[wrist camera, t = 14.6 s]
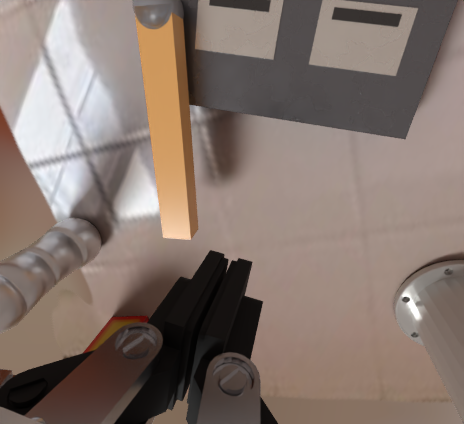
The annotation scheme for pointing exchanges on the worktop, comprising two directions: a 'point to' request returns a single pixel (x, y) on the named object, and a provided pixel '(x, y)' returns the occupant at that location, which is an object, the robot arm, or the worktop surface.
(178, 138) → the light orange bar
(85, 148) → the worktop surface
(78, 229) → the plastic bottle
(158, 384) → the robot arm
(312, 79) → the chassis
